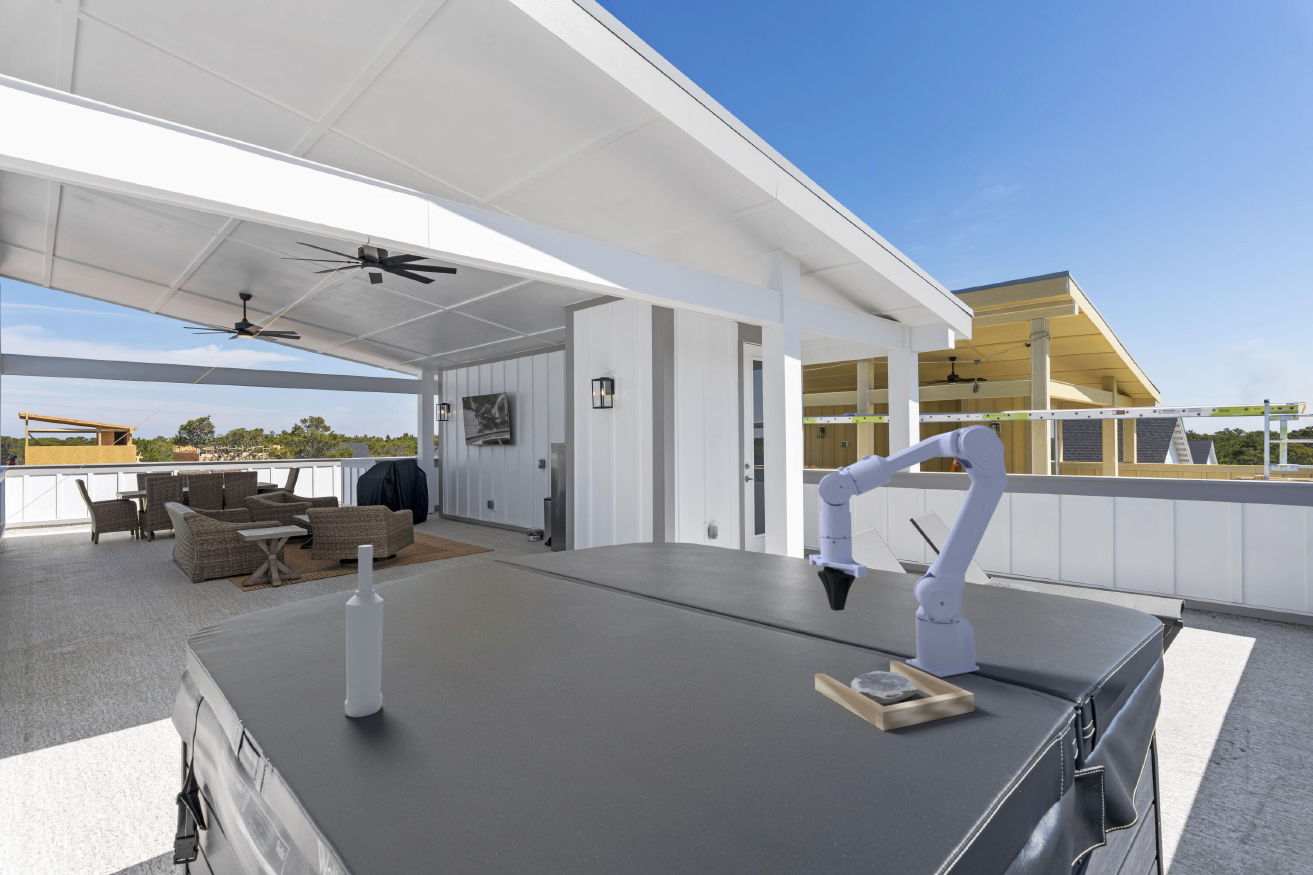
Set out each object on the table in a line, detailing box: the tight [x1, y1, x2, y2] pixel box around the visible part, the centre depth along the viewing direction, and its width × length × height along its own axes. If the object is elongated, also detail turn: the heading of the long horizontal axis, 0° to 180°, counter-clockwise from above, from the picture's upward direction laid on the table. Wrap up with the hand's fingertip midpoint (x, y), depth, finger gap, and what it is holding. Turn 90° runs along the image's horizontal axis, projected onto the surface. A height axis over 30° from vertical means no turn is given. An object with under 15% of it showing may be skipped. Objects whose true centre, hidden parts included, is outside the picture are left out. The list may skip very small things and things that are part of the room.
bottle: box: [344, 544, 385, 718], centre depth 88 cm, size 5×5×25 cm
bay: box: [814, 660, 976, 732], centre depth 89 cm, size 17×16×2 cm
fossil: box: [850, 670, 919, 706], centre depth 91 cm, size 11×4×10 cm
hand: (837, 609), depth 108 cm, fingers closed
